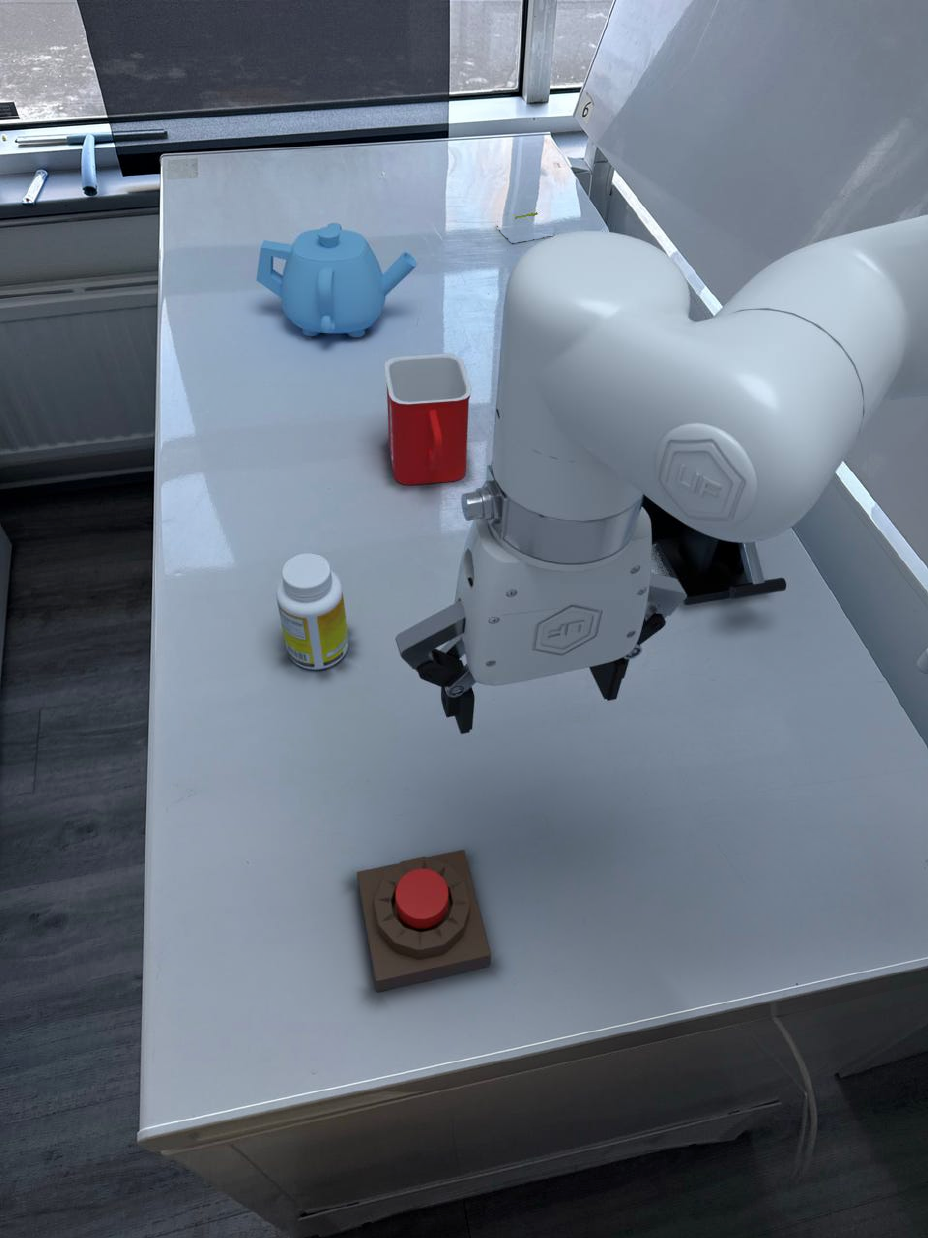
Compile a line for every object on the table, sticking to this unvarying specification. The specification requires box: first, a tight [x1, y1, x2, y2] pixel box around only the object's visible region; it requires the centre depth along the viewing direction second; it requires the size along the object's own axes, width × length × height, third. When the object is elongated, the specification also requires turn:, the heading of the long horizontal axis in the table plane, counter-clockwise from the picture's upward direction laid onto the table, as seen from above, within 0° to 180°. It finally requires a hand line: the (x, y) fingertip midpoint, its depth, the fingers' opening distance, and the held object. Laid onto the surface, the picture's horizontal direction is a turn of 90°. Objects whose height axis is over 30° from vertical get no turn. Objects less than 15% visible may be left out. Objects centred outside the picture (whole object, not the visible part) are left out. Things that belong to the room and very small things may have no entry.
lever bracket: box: [655, 525, 748, 605], centre depth 85 cm, size 8×8×12 cm
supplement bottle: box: [275, 553, 349, 670], centre depth 77 cm, size 6×6×10 cm
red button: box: [395, 868, 449, 929], centre depth 61 cm, size 4×4×2 cm
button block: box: [356, 849, 492, 993], centre depth 63 cm, size 8×8×4 cm
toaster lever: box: [729, 542, 787, 600], centre depth 81 cm, size 11×5×2 cm, turn 14°
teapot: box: [256, 222, 418, 338], centre depth 112 cm, size 20×17×12 cm
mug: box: [383, 353, 472, 486], centre depth 93 cm, size 12×8×11 cm
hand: (531, 698), depth 57 cm, fingers open, 9 cm apart
